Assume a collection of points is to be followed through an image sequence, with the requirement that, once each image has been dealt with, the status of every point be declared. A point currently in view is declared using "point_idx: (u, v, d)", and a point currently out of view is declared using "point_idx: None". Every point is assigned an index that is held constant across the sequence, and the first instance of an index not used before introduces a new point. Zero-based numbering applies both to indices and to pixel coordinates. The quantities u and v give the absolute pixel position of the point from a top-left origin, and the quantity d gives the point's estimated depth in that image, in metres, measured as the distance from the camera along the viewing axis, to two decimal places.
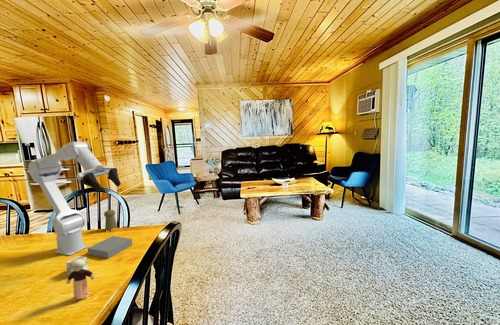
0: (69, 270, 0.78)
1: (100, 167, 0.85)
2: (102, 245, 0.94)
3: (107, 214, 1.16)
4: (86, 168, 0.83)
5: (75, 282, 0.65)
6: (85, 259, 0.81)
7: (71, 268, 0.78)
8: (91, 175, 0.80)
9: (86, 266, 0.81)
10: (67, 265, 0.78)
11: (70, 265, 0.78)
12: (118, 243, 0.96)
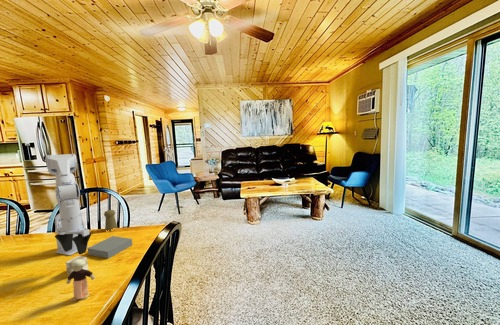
0: (69, 270, 0.78)
1: None
2: (102, 245, 0.94)
3: (107, 214, 1.16)
4: None
5: (75, 282, 0.65)
6: (85, 259, 0.81)
7: (71, 268, 0.78)
8: (57, 238, 0.78)
9: (86, 266, 0.81)
10: (67, 265, 0.78)
11: (70, 265, 0.78)
12: (118, 243, 0.96)
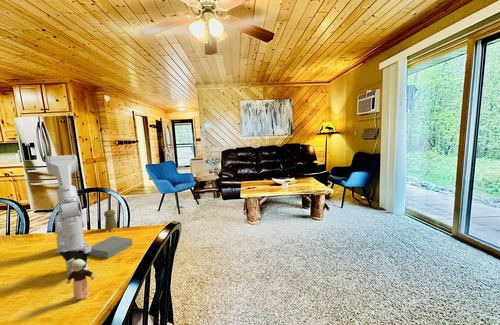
0: (69, 270, 0.78)
1: None
2: (102, 245, 0.94)
3: (107, 214, 1.16)
4: None
5: (75, 282, 0.65)
6: None
7: (71, 268, 0.78)
8: (62, 255, 0.78)
9: (86, 266, 0.81)
10: (67, 265, 0.78)
11: (70, 265, 0.78)
12: (118, 243, 0.96)
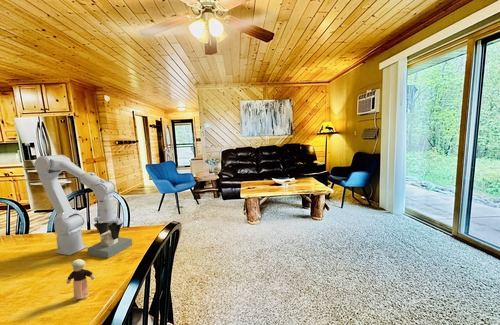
0: (103, 242, 0.94)
1: None
2: None
3: None
4: None
5: (75, 282, 0.65)
6: None
7: (105, 239, 0.93)
8: (96, 226, 0.94)
9: (116, 239, 0.97)
10: (101, 237, 0.94)
11: (104, 237, 0.93)
12: (118, 243, 0.96)
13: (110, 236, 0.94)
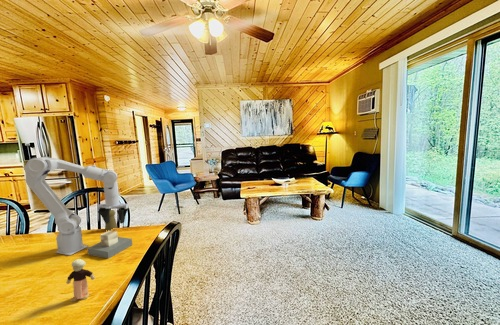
0: (103, 242, 0.94)
1: (108, 208, 1.00)
2: None
3: None
4: None
5: (75, 282, 0.65)
6: (116, 233, 0.96)
7: (105, 239, 0.93)
8: (100, 213, 1.01)
9: (116, 239, 0.97)
10: (101, 237, 0.94)
11: (104, 237, 0.93)
12: (118, 243, 0.96)
13: (110, 236, 0.94)
